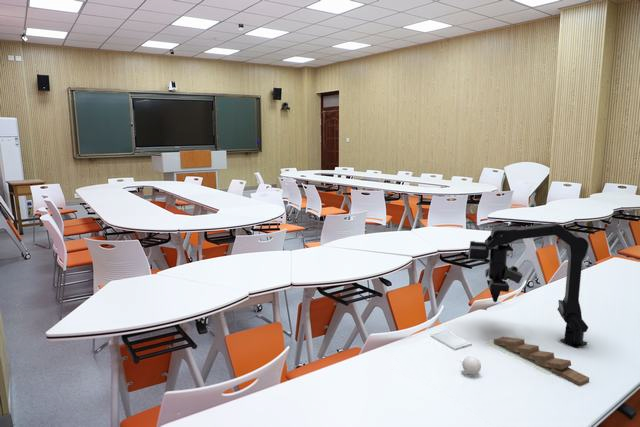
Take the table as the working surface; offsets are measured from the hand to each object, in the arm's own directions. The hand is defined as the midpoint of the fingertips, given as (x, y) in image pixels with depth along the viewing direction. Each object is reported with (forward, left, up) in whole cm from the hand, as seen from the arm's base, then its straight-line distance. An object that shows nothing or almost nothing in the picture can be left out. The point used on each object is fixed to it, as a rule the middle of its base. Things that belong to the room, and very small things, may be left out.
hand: (494, 301), depth 167 cm
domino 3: (+4, +17, -12) cm, 21 cm away
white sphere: (+29, +15, -13) cm, 35 cm away
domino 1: (+4, +6, -12) cm, 14 cm away
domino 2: (+4, +11, -12) cm, 17 cm away
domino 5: (+4, +28, -12) cm, 31 cm away
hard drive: (+18, -3, -14) cm, 23 cm away
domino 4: (+4, +23, -12) cm, 26 cm away
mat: (+4, +16, -13) cm, 21 cm away
